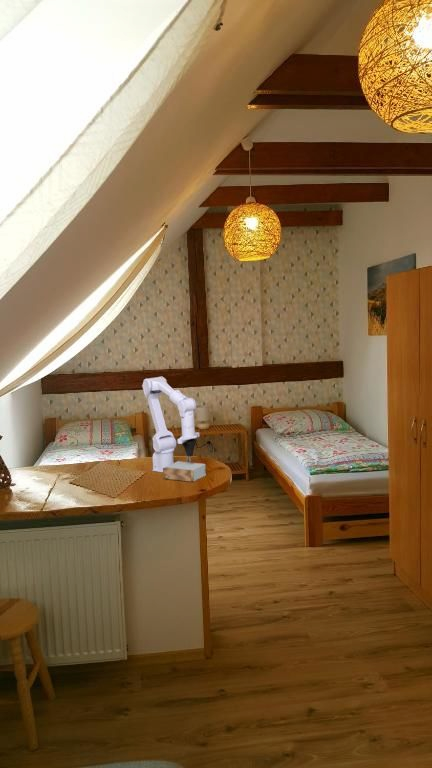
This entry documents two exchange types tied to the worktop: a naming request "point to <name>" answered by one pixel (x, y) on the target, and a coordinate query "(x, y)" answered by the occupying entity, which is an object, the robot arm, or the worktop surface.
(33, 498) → the worktop surface
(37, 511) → the worktop surface
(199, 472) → the cabinet
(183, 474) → the door
